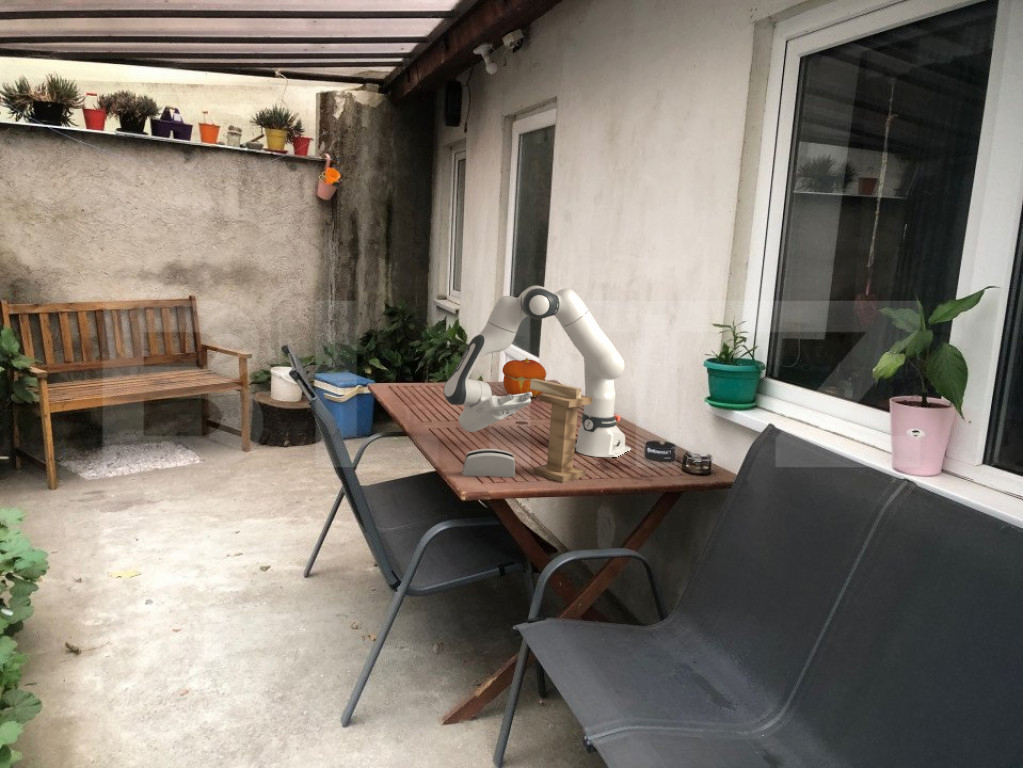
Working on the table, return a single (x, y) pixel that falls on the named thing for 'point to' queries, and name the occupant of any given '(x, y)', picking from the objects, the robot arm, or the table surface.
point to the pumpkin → (522, 376)
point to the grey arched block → (489, 463)
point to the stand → (562, 438)
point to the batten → (555, 389)
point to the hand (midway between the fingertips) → (521, 395)
